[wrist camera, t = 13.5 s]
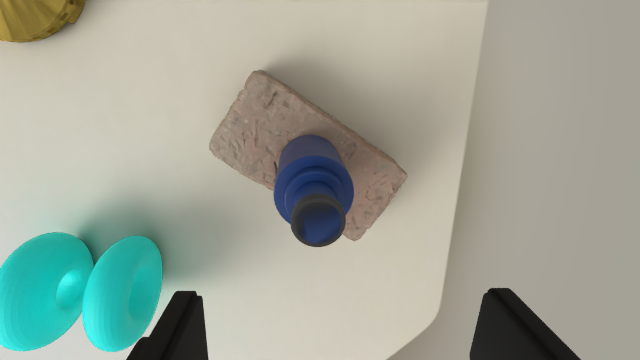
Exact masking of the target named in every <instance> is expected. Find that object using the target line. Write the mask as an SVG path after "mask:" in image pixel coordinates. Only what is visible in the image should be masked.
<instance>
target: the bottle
mask: <svg viewBox="0 0 640 360" xmlns="http://www.w3.org/2000/svg"><path fill="white" fill-rule="evenodd" d="M353 199H354V185H353V182H352V179H351V177H350V175H349V173H348V171H347V169H346V167H345V165H344V163H343V161H342V159H341V158H340V156H339V154H338V152H337V150H336V148H335V147H334V146H333V144H332V143H330V142H329V141H328V140H327V139H325V138H323V137H320V136H317V135H303V136H300V137H297V138H295V139H293V140H292V141H290V142H289V143H288V144H287V145H286V146H285V148H284V149H283V151H282V153H281V156H280V160H279V165H278V170H277V175H276V181H275V186H274V201H275V205H276V208H277V210H278V212H279V213H280V215H281V216H282V217H283V218H284V219H285V220H286V221H287V222H288V223H290V224H291V229H292V232H293V234H294V235H295V237H296V238H297V239H298V240H299V241H301V242H302V243H304V244H306V245H308V246H312V247H323V246H327V245H329V244H331V243H333V242H335V241H336V240H337V239H338V238H339V237H340V236H341V235H342V233H343V231H344V229H345V225H346V217H345V216H346V214H347V213H348V211H349V210H350V208H351V206H352V203H353Z"/></svg>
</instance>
